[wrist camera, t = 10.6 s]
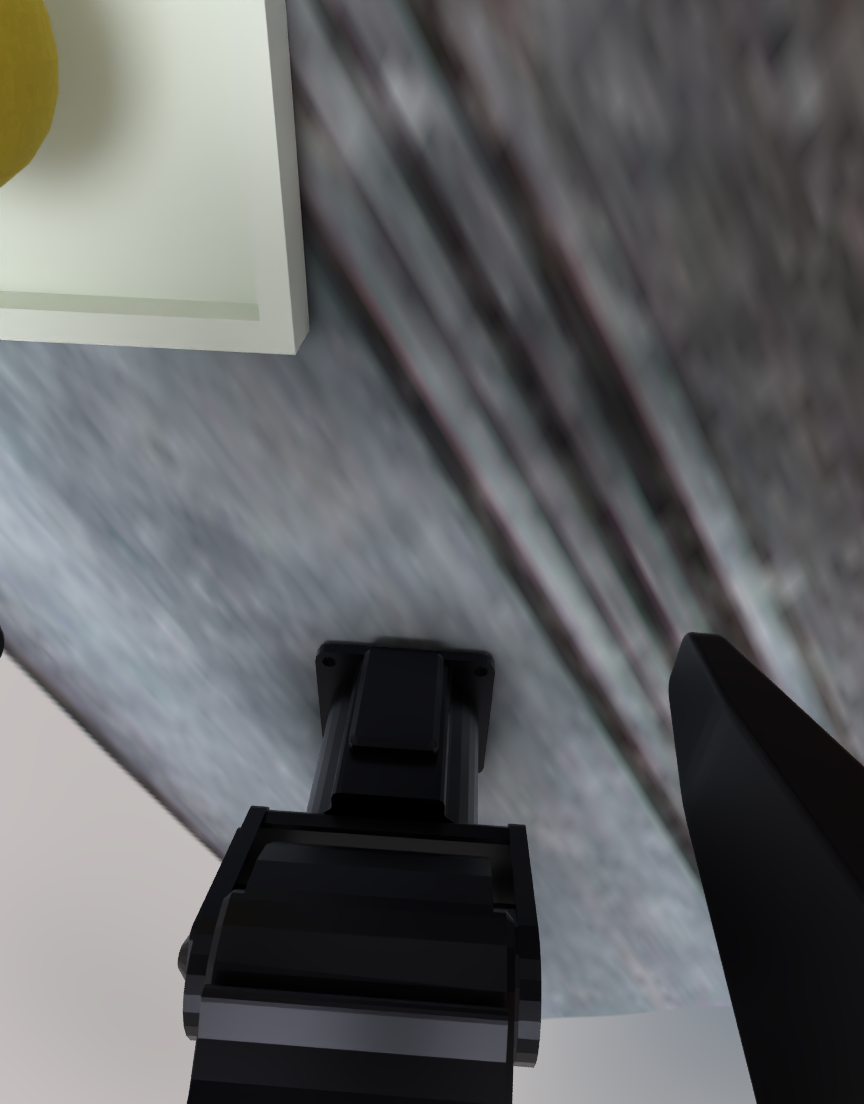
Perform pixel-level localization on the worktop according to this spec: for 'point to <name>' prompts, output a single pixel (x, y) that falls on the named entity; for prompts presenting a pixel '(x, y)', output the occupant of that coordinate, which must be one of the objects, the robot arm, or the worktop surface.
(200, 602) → the worktop surface
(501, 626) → the worktop surface
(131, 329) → the tray
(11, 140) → the lemon
